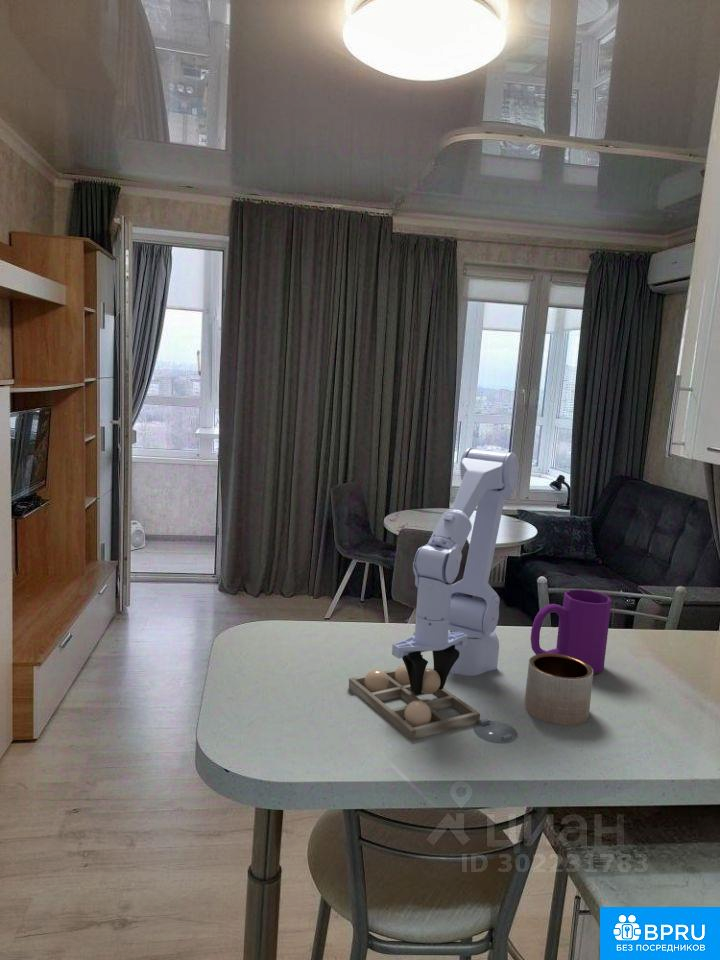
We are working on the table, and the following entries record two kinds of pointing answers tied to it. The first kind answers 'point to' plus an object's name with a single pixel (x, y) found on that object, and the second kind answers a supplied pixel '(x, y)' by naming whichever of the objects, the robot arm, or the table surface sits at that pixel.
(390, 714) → the carton
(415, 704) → the egg
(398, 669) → the egg
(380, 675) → the egg
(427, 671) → the egg loose
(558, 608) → the mug
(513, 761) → the table surface
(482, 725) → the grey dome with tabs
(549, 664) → the planter
